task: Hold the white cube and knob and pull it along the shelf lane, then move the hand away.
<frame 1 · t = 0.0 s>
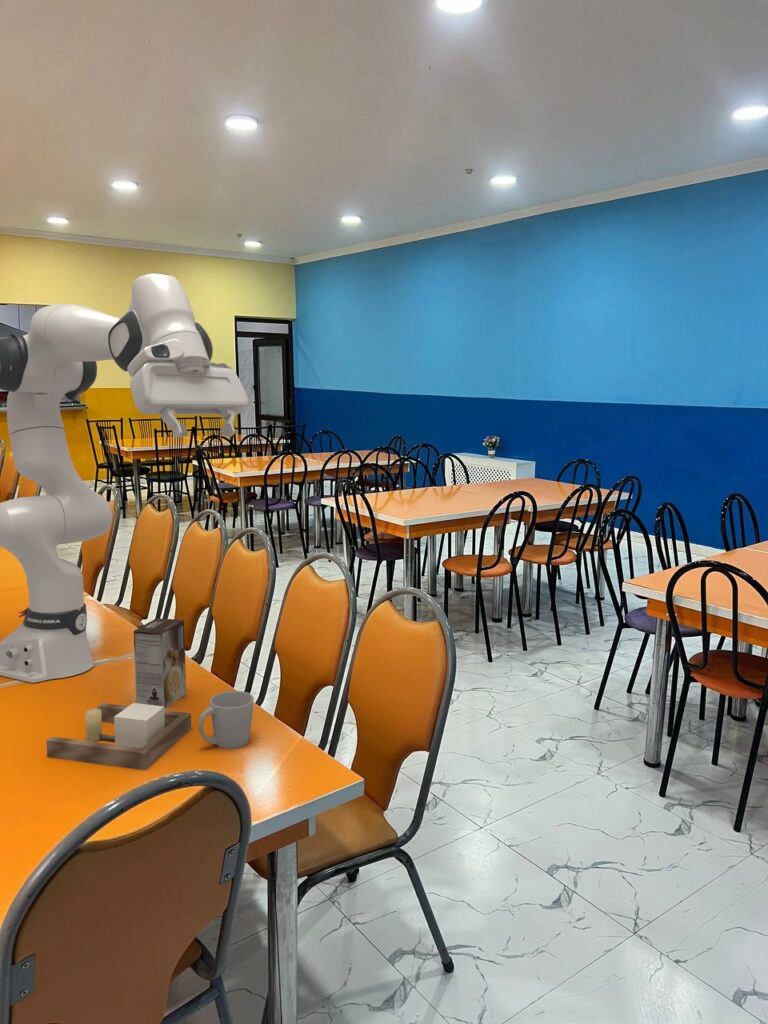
hand: (206, 435, 121), 54 cm above the table, tool tilted 30°, fingers open, 8 cm apart
shelf lane: (122, 745, 130), on the table
cup: (226, 747, 130), on the table
coffee box: (161, 702, 149), on the table
white cube and knob: (121, 725, 129), point 4 cm above the table, slide at 0.0 cm
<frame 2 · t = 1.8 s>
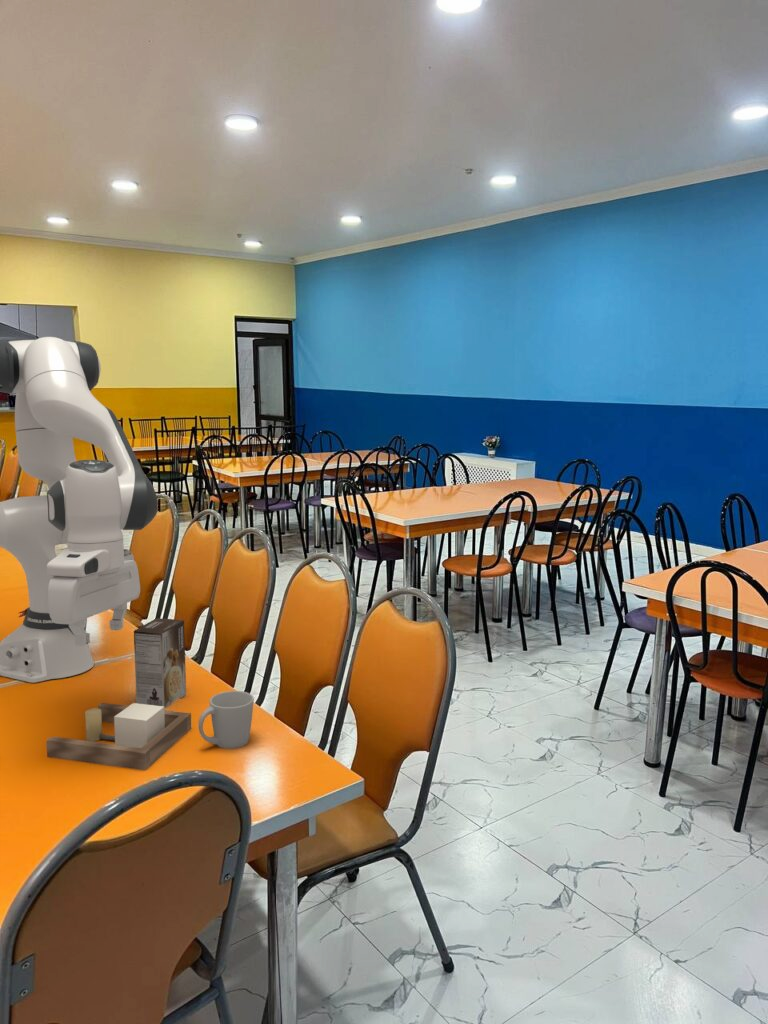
hand: (100, 636, 127), 20 cm above the table, tool pointing down, fingers open, 8 cm apart
nothing on the table moved.
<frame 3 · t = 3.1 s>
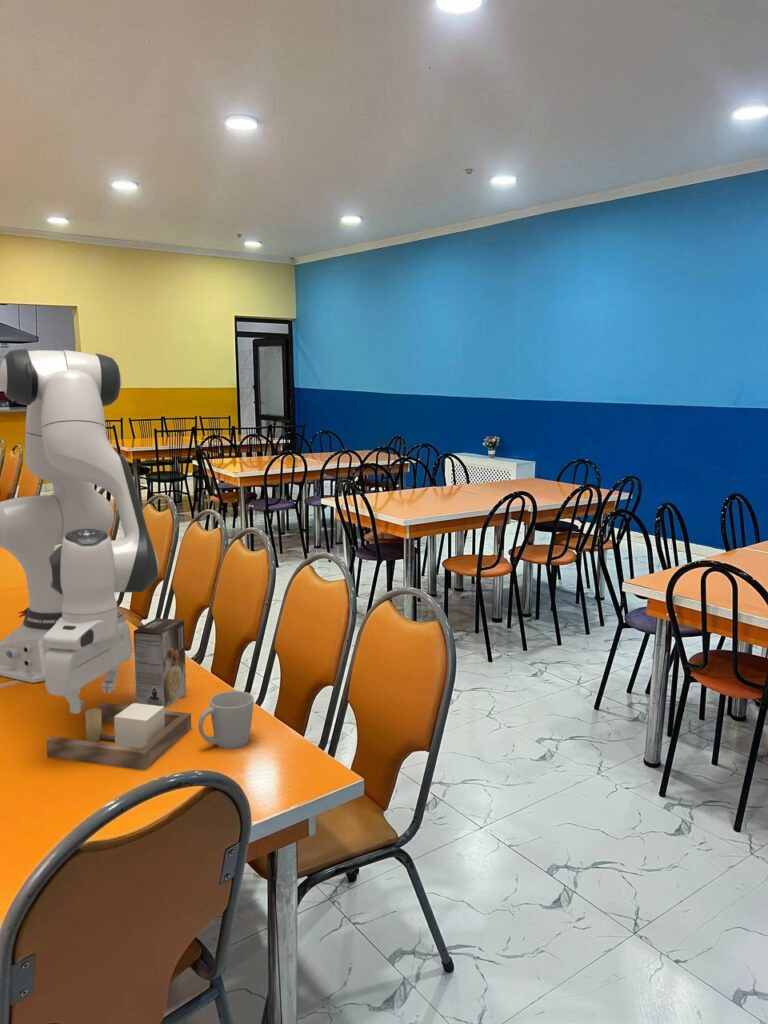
hand: (93, 701, 129), 8 cm above the table, tool pointing down, fingers open, 8 cm apart
nothing on the table moved.
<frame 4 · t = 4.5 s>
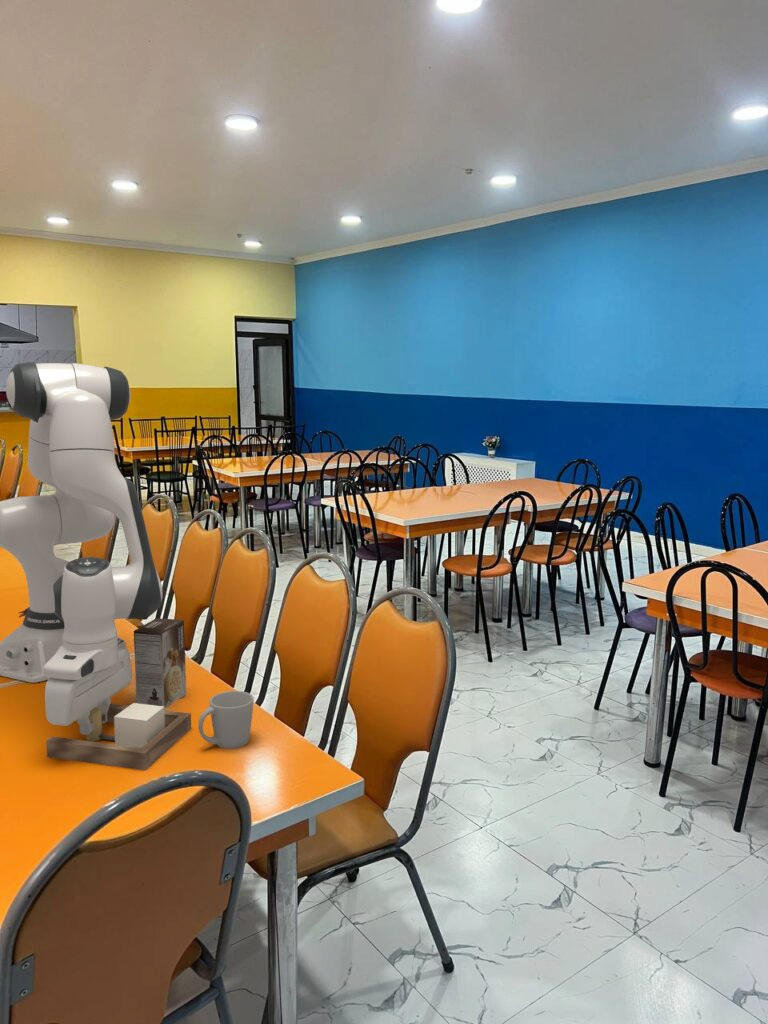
hand: (93, 728, 130), 3 cm above the table, tool pointing down, fingers closed on white cube and knob, 3 cm apart
white cube and knob: (121, 725, 129), point 4 cm above the table, slide at 0.0 cm, touching gripper
everything else where it was.
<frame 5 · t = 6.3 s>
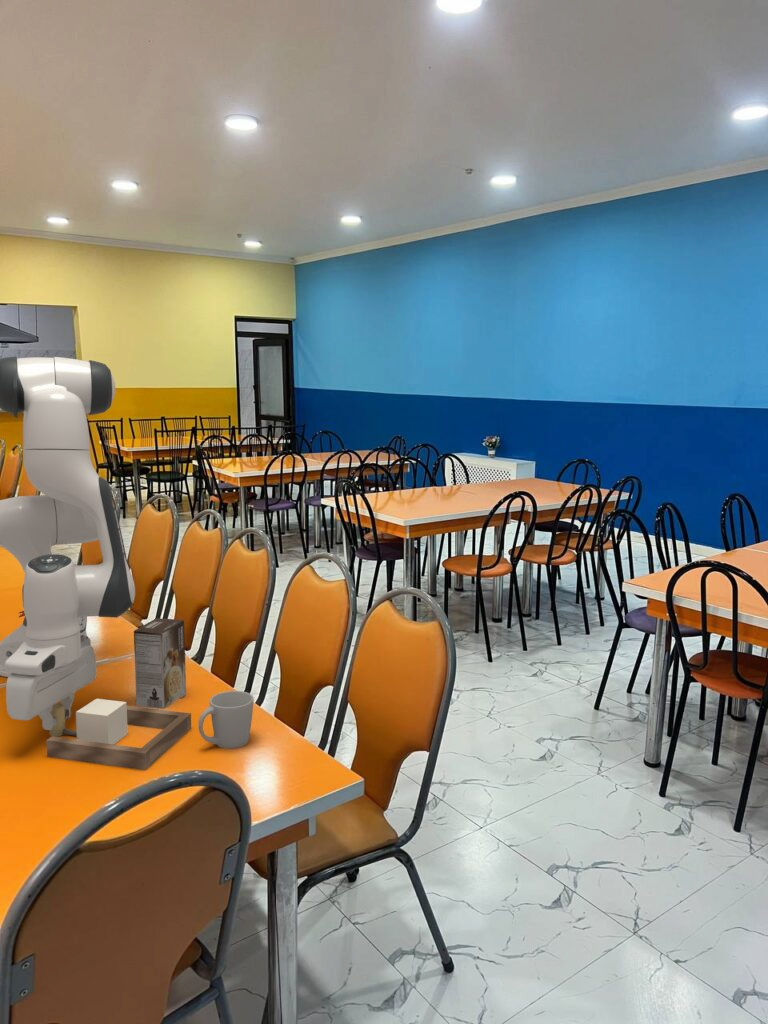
hand: (57, 723, 132), 3 cm above the table, tool pointing down, fingers closed on white cube and knob, 3 cm apart
white cube and knob: (83, 720, 131), point 4 cm above the table, slide at 7.3 cm, touching gripper
everything else where it was.
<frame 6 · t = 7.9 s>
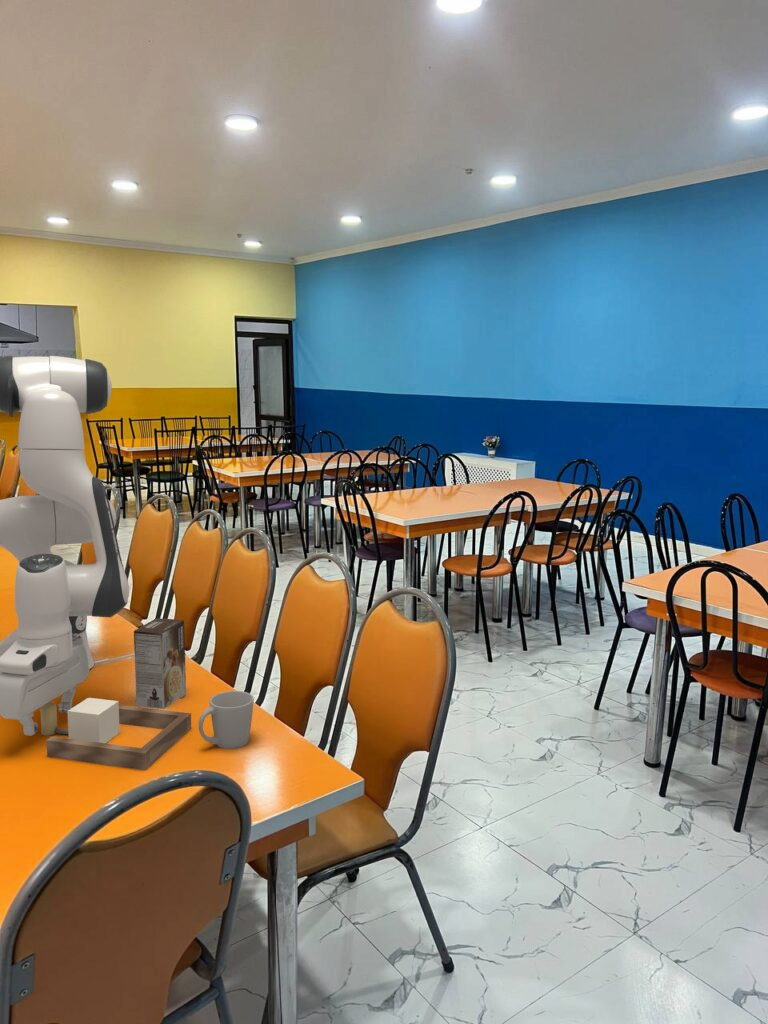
hand: (48, 722, 132), 3 cm above the table, tool pointing down, fingers open, 8 cm apart
white cube and knob: (75, 719, 131), point 4 cm above the table, slide at 8.9 cm
everything else where it was.
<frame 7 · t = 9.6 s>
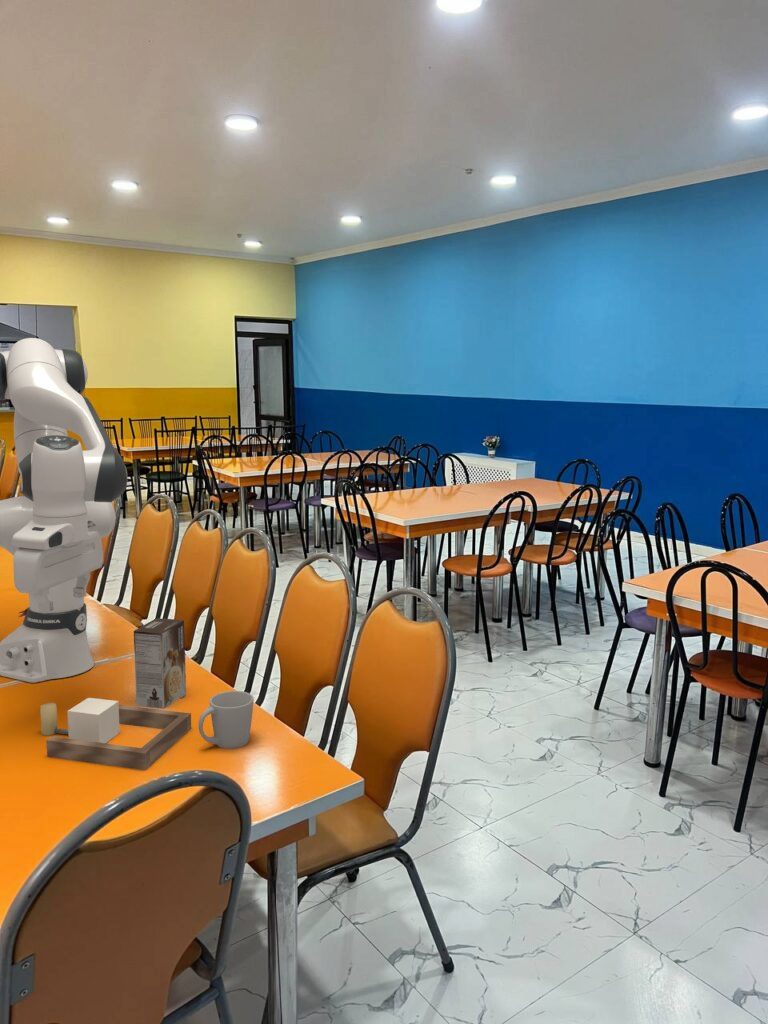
hand: (63, 604, 133), 23 cm above the table, tool pointing down, fingers open, 8 cm apart
nothing on the table moved.
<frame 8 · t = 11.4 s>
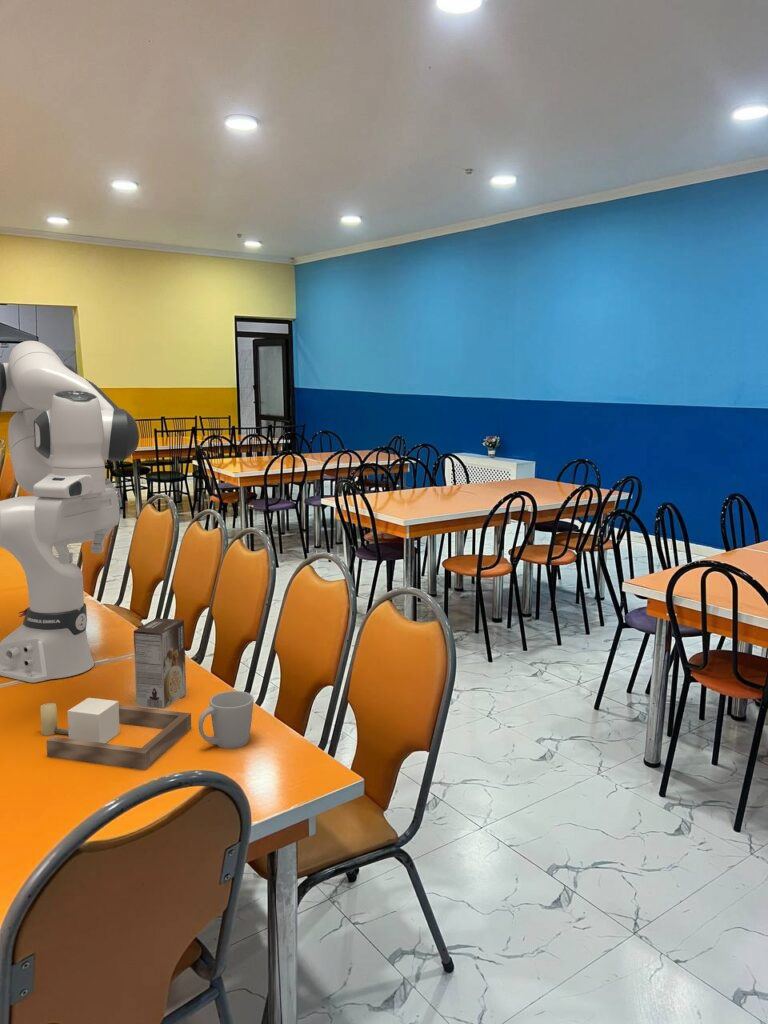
hand: (82, 557, 135), 31 cm above the table, tool pointing down, fingers open, 8 cm apart
nothing on the table moved.
at the end: white cube and knob slide at 8.9 cm; the gripper is holding nothing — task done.
